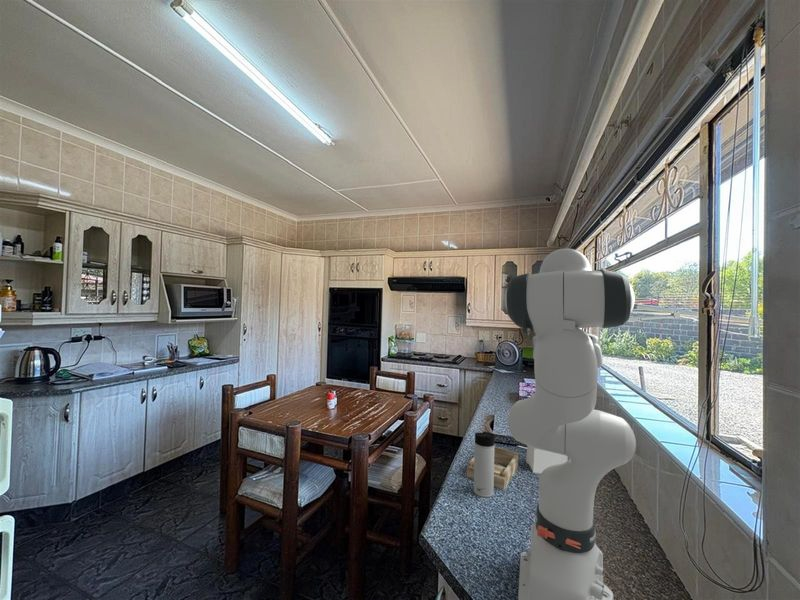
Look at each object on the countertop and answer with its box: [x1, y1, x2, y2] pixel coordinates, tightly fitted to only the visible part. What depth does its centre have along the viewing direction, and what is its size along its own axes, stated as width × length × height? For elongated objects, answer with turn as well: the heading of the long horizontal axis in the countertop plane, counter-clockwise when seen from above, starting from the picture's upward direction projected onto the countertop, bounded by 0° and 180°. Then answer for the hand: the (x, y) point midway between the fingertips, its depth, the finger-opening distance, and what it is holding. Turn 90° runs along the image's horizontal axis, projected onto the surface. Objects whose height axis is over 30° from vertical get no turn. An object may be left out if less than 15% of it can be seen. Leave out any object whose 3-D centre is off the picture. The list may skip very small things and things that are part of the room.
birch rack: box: [466, 445, 519, 491], centre depth 115 cm, size 18×13×7 cm
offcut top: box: [494, 465, 503, 476], centre depth 111 cm, size 5×9×2 cm, turn 58°
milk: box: [525, 445, 569, 474], centre depth 120 cm, size 12×12×26 cm
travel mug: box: [473, 431, 496, 499], centre depth 102 cm, size 6×7×20 cm
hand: (565, 377), depth 103 cm, fingers open, 8 cm apart
